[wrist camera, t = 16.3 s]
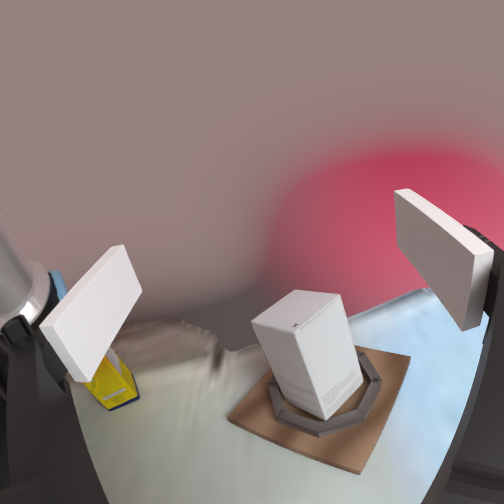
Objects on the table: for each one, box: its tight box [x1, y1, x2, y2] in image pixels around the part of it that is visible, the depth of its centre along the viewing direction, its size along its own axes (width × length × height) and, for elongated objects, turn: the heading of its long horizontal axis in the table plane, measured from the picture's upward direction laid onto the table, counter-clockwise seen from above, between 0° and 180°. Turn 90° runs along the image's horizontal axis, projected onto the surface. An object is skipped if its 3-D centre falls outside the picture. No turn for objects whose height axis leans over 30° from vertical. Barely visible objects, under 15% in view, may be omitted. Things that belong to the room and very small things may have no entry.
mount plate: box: [228, 345, 411, 475], centre depth 36 cm, size 18×18×3 cm
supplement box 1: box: [82, 346, 140, 411], centre depth 41 cm, size 6×6×11 cm
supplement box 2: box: [251, 290, 363, 420], centre depth 33 cm, size 7×7×13 cm
